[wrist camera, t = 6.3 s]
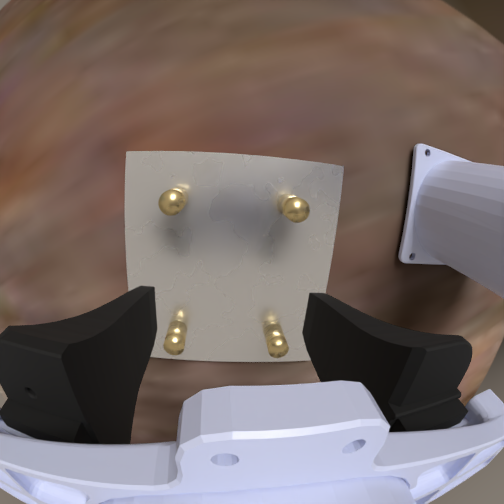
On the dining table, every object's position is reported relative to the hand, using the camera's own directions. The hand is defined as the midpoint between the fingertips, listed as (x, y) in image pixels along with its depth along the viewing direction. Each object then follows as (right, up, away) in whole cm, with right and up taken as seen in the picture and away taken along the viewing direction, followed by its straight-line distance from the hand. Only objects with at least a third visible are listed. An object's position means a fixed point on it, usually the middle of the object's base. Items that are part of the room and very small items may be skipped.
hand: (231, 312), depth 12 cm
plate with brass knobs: (-1, +2, +5) cm, 6 cm away
